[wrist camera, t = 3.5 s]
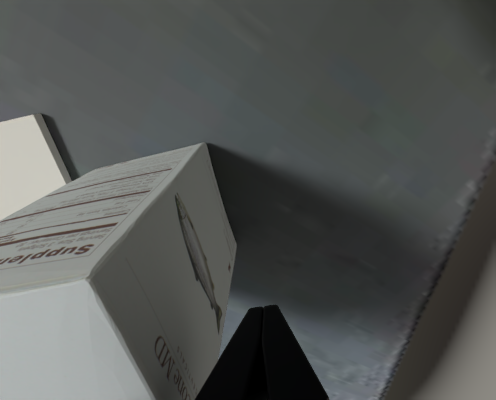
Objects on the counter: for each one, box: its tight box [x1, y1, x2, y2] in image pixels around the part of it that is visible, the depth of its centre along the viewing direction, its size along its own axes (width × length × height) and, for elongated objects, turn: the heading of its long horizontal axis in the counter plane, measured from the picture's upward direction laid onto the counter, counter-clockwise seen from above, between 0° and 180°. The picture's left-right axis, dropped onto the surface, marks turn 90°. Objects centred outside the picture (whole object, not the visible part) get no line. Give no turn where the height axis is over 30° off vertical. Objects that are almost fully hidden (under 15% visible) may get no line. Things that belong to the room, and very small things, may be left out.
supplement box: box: [0, 143, 237, 400], centre depth 13 cm, size 7×7×13 cm
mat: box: [0, 113, 72, 220], centre depth 20 cm, size 11×14×1 cm
